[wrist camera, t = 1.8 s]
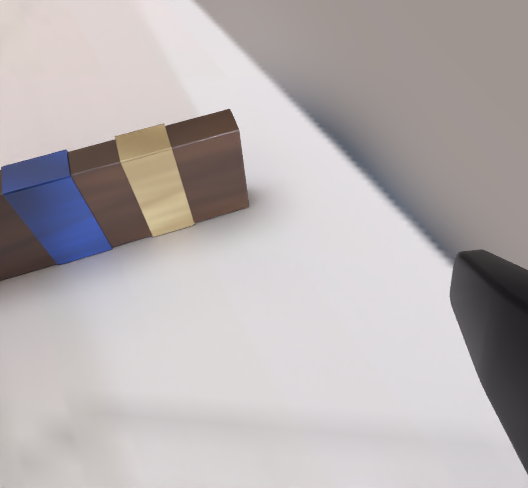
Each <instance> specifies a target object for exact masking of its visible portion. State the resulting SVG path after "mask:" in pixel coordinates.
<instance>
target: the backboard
mask: <svg viewBox="0 0 528 488" xmlns="http://www.w3.org/2000/svg"><path fill="white" fill-rule="evenodd" d="M247 207H249V200H248V193H247V185H246V178H245V170H244V163H243V155H242V148H241V140H240V132H239V128H238V126H237V124H236V121H235V119H234V117H233V114H232V112H231V110H230V109H227V110H223V111H220V112H216V113H212V114H208V115H205V116H201V117H197V118H193V119H190V120H186V121H182V122H179V123H175V124H171V125H167V126H165V125H164V124H160V125H156V126H153V127H149V128H145V129H141V130H138V131H134V132H130V133H126V134H123V135H119V136H115V140H111V141H108V142H104V143H100V144H96V145H93V146H89V147H85V148H81V149H78V150H74V151H70V152H68V151H67V150H63V151H59V152H55V153H51V154H48V155H44V156H40V157H36V158H33V159H29V160H25V161H21V162H18V163H14V164H10V165H6V166H3V167H1V170H0V280H4V279H7V278H11V277H14V276H17V275H21V274H24V273H27V272H31V271H34V270H38V269H41V268H44V267H48V266H51V265H54V264H58V265H61V264H64V263H68V262H71V261H74V260H78V259H81V258H85V257H88V256H91V255H95V254H98V253H101V252H105V251H108V250H112V247H115V246H119V245H122V244H125V243H129V242H132V241H135V240H139V239H142V238H146V237H149V236H153V237H155V236H159V235H162V234H166V233H169V232H172V231H176V230H179V229H182V228H186V227H189V226H192V225H195V224H194V223H196V222H200V221H203V220H206V219H210V218H213V217H217V216H220V215H223V214H227V213H230V212H233V211H237V210H240V209H244V208H247Z"/></svg>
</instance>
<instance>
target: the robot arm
mask: <svg viewBox="0 0 528 488" xmlns="http://www.w3.org/2000/svg"><path fill="white" fill-rule="evenodd" d="M450 301H451V305H452V308H453V311H454V314H455V316H456V319H457V321H458V324H459V327H460V329H461V332H462V335H463V337H464V340H465V343H466V345H467V348H468V351H469V353H470V356H471V359H472V361H473V364H474V367H475V369H476V372H477V374H478V377H479V379H480V382H481V384H482V386H483V388H484V390H485V392H486V395H487V397H488V399H489V401H490V402H491V404H492V406H493V408H494V410H495V412H496V414H497V416H498V418H499V420H500V422H501V424H502V426H503V428H504V430H505V432H506V433H507V435H508V437H509V439H510V441H511V443H512V445H513V447H514V449H515V451H516V453H517V455H518V457H519V459H520V461H521V463H522V464H523V466H524V468H525V470H526V472H527V474H528V270H526V269H524V268H522V267H520V266H518V265H515V264H513V263H511V262H509V261H507V260H505V259H502V258H500V257H498V256H496V255H494V254H491V253H489V252H487V251H485V250H472V251H463V252H459V253H458V254H457V255H456V257H455V260H454V266H453V273H452V280H451V287H450Z"/></svg>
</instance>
